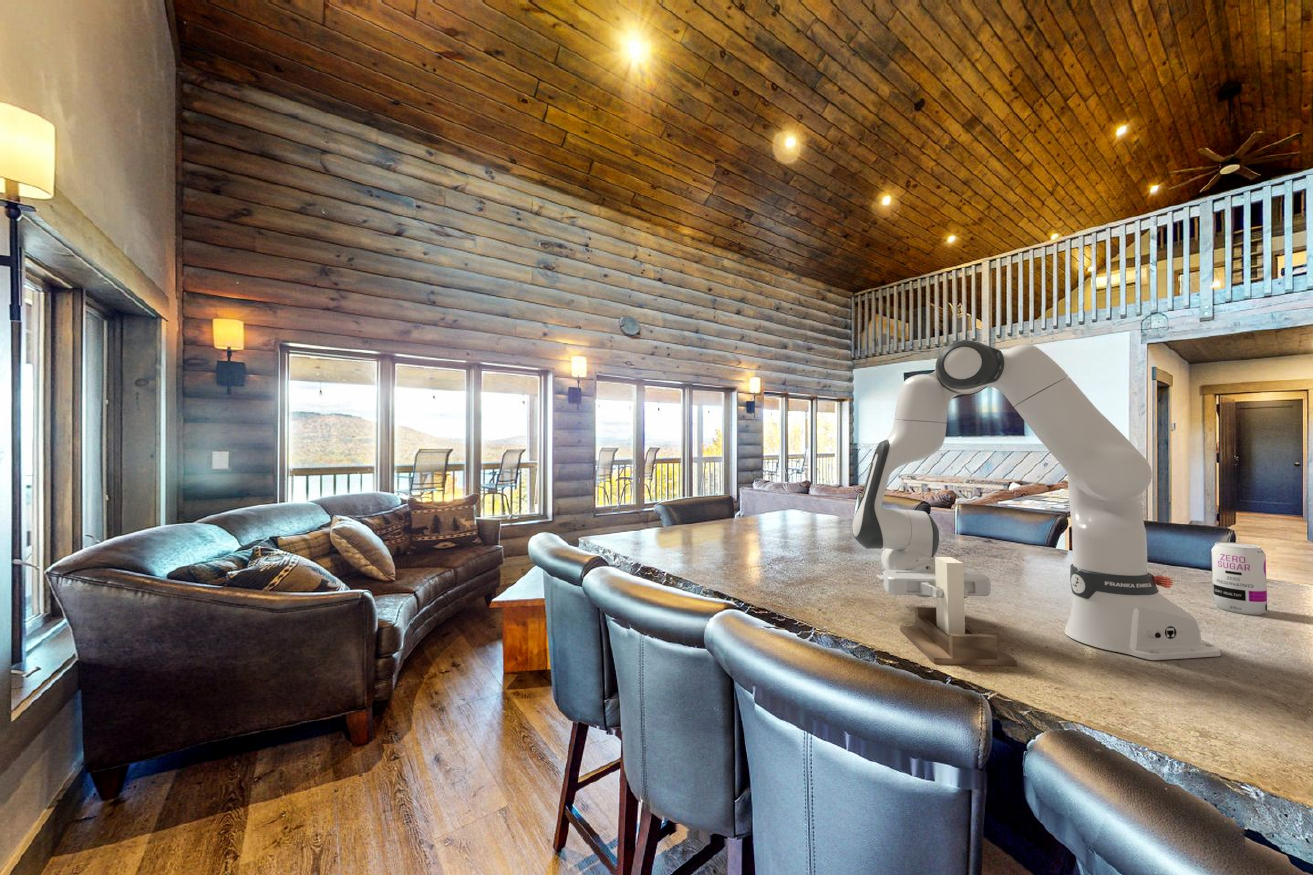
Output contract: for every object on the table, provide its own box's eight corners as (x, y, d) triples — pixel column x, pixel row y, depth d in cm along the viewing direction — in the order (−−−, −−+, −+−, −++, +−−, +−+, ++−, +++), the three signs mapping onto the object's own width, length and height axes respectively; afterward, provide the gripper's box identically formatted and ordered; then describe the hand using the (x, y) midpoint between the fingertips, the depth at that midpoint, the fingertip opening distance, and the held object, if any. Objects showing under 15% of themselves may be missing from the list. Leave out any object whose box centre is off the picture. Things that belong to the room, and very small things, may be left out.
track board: (969, 632, 105) (969, 608, 105) (1016, 665, 89) (1016, 637, 89) (900, 630, 106) (899, 606, 106) (934, 663, 90) (933, 635, 90)
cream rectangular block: (952, 626, 101) (950, 557, 101) (965, 636, 96) (963, 562, 96) (936, 626, 101) (935, 556, 102) (948, 635, 96) (946, 562, 97)
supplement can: (1257, 607, 117) (1255, 543, 117) (1275, 618, 110) (1272, 550, 111) (1207, 602, 122) (1205, 540, 122) (1221, 612, 115) (1219, 546, 115)
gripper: (872, 561, 113) (896, 577, 99) (968, 561, 111) (1006, 578, 97) (873, 589, 113) (896, 609, 99) (969, 590, 111) (1007, 611, 97)
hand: (951, 594), depth 98 cm, fingers closed on cream rectangular block, 3 cm apart
